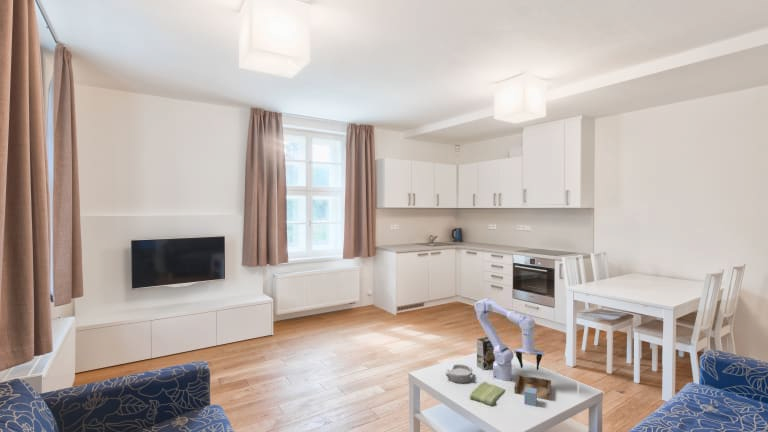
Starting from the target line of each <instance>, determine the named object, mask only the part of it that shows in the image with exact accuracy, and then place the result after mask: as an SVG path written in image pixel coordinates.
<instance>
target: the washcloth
mask: <svg viewBox="0 0 768 432" xmlns="http://www.w3.org/2000/svg"><path fill="white" fill-rule="evenodd" d="M505 392H506V389H504V388H503V387H500V386H497V385H495V384H493V383H492V384H491V383H488V382H487V381H483V382H482V383H479V385H477V386H476V388H474V389H473V390H472V391H471V393H470V395H469V398H470V399H471V400H474V401H476V402H480V403H483V404H484V405H488V406H490V407H493V406H496V404H497V400H498V399H499V397H501V396H502V395H503V394H504V393H505Z"/></svg>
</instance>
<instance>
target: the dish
mask: <svg viewBox="0 0 768 432" xmlns="http://www.w3.org/2000/svg"><path fill="white" fill-rule="evenodd" d="M445 376H446V377H447V378H448V381H451V382H452V383H457V384H458V383H459V384H464V383H470V382H471V381H472V380H473V379H474V375H473V369H472V367H470V366H469V365H466V364H458V363H457V364H453V366H452V368H451V370H449V369H447V370H446V372H445Z"/></svg>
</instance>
